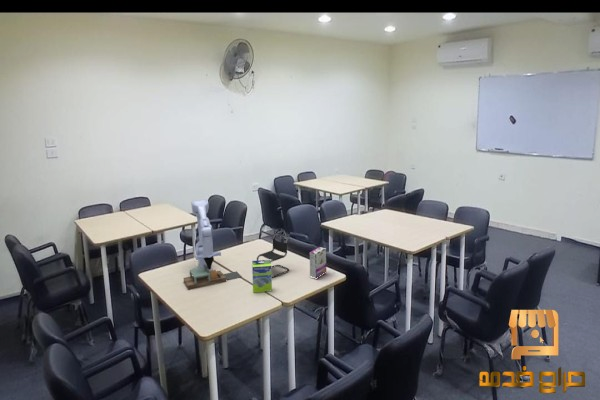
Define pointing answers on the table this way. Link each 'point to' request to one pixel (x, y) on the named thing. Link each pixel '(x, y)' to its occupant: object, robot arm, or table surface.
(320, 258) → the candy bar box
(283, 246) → the chair
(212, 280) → the brown flat rectangular frame
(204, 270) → the sliding cover
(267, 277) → the box
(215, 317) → the table surface
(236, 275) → the rubber mat
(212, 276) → the terracotta block
